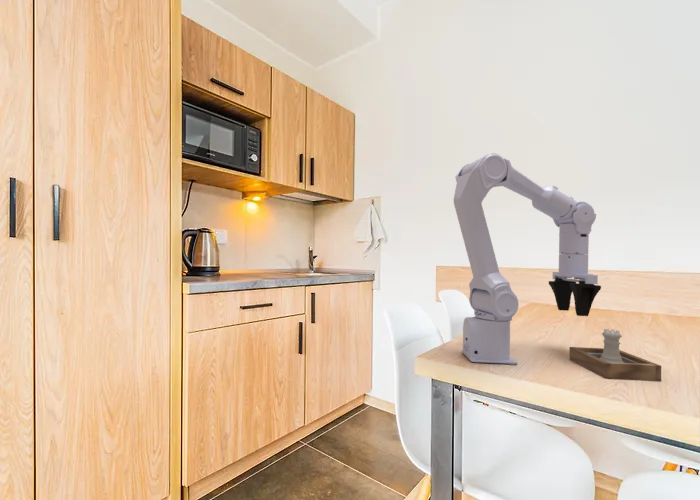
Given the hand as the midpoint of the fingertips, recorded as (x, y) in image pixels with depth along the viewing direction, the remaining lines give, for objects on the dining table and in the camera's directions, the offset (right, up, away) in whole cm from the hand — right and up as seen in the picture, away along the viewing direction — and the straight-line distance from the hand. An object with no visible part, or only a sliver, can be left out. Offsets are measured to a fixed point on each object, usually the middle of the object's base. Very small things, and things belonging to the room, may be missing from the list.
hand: (572, 312), depth 78 cm
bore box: (+2, -10, -9) cm, 14 cm away
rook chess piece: (+2, -10, -9) cm, 14 cm away
